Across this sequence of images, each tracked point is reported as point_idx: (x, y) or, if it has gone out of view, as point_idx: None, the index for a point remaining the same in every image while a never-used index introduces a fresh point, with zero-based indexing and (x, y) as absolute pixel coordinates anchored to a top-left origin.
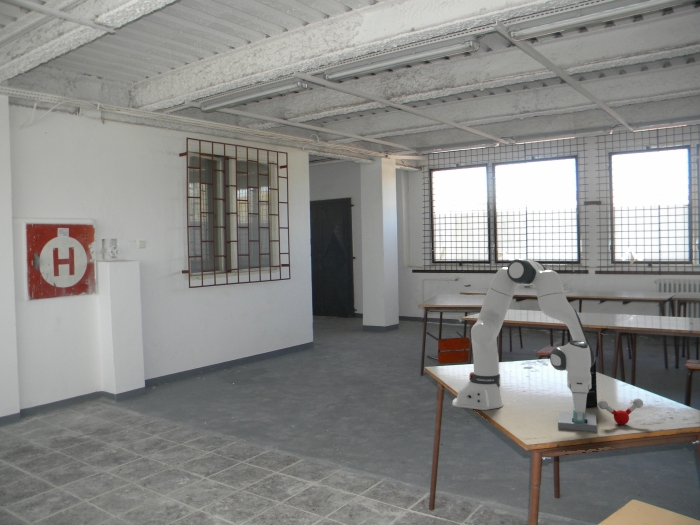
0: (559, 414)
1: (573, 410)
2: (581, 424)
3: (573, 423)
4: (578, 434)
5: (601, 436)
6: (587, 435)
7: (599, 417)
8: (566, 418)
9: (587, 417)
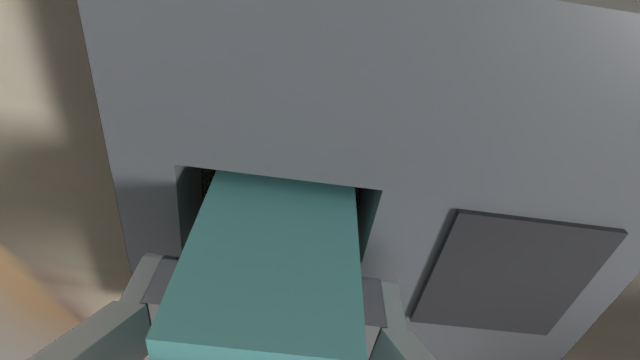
0: (615, 27)
1: (150, 328)
2: (127, 245)
3: (118, 172)
4: (3, 152)
5: (57, 302)
6: (21, 221)
7: (575, 356)
8: (356, 114)
9: (413, 324)
